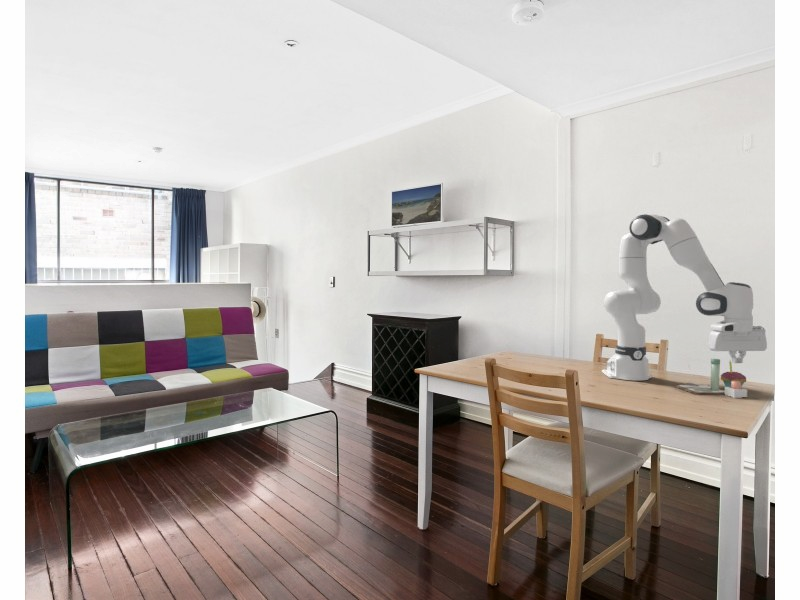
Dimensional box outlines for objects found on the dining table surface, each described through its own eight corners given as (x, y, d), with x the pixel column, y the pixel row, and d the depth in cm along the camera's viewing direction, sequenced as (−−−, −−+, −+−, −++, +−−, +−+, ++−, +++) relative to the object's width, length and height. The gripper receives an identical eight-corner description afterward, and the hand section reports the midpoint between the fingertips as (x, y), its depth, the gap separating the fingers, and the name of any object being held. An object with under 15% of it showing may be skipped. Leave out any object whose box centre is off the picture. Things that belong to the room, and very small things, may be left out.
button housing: (724, 394, 186) (724, 386, 186) (737, 394, 186) (737, 386, 186) (733, 397, 181) (734, 389, 181) (747, 397, 181) (747, 389, 181)
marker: (708, 389, 191) (709, 358, 190) (715, 389, 191) (716, 358, 191) (713, 390, 188) (714, 360, 187) (721, 390, 188) (722, 360, 188)
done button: (729, 391, 185) (729, 380, 184) (736, 391, 185) (737, 380, 185) (734, 393, 182) (735, 382, 181) (742, 393, 182) (742, 382, 182)
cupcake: (735, 392, 189) (736, 361, 188) (714, 387, 197) (715, 358, 196) (751, 390, 192) (752, 360, 191) (730, 386, 200) (731, 357, 199)
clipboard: (671, 385, 201) (671, 382, 201) (704, 385, 201) (705, 382, 201) (695, 394, 186) (695, 391, 186) (731, 394, 186) (731, 391, 186)
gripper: (758, 325, 186) (757, 361, 186) (706, 325, 185) (705, 361, 185) (771, 326, 179) (770, 364, 180) (717, 327, 178) (716, 364, 179)
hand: (737, 362), depth 183 cm, fingers closed
